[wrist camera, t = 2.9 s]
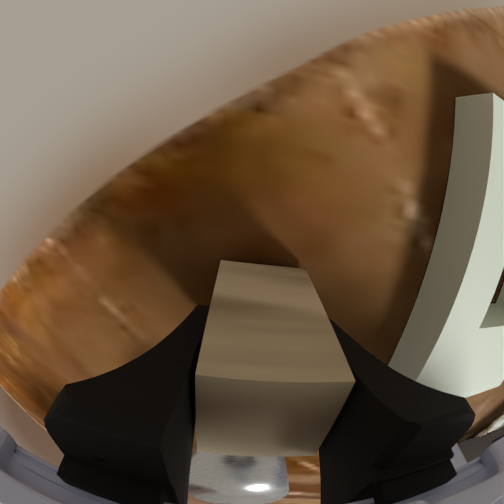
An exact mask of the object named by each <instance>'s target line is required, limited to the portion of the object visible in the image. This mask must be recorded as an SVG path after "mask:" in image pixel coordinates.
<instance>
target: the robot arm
mask: <svg viewBox="0 0 504 504" xmlns="http://www.w3.org/2000/svg"><path fill="white" fill-rule="evenodd" d="M209 309H210V306H205V305H198V306H196V307H195V308H194V310H193V311H192V312H191V313H190V314H189V315H188V316H187V318H186V319H185V320H184V321H183V322H182V323H181V324H180V325H179V326H178V327H177V328H176V329H175V330H174V331H173V332H171V333H170V334H169V335H168V336H167V337H166V338H164V339H163V340H162V341H161V342H160V343H158V344H157V345H156V346H154V347H153V348H152V349H150V350H149V351H147V352H146V353H144V354H143V355H141V356H140V357H138V358H136V359H134V360H132V361H131V362H129V363H127V364H125V365H123V366H121V367H119V368H117V369H114V370H112V371H110V372H107V373H104V374H102V375H99V376H96V377H93V378H90V379H86V380H83V381H79V382H75V383H71V384H67V385H65V386H64V388H63V389H62V390H61V392H60V393H59V394H58V396H57V398H56V399H55V401H54V403H53V404H52V406H51V408H50V409H49V411H48V413H47V415H46V416H45V418H44V423H45V427H46V429H47V431H48V433H49V434H50V436H51V437H52V439H53V440H54V442H55V443H56V444H57V446H58V447H59V448H60V450H61V451H62V452H63V454H64V457H63V460H62V462H61V464H60V466H59V467H57V466H55V465H53V464H51V463H49V462H47V461H45V460H43V459H41V458H39V457H38V456H36V455H34V454H32V453H30V452H28V451H27V450H25V449H23V448H22V447H20V446H18V445H17V444H16V442H15V441H14V439H13V438H12V437H11V436H10V435H9V434H8V433H7V432H6V431H5V430H4V429H3V428H2V427H0V502H1V503H2V504H187V499H188V487H189V476H190V466H191V457H192V448H193V440H194V432H195V424H196V399H195V373H196V368H197V363H198V359H199V354H200V349H201V345H202V340H203V335H204V331H205V326H206V322H207V317H208V313H209ZM329 321H330V323H331V325H332V327H333V330H334V332H335V334H336V337H337V339H338V341H339V343H340V346H341V348H342V350H343V353H344V355H345V357H346V360H347V362H348V364H349V367H350V369H351V372H352V374H353V376H354V379H355V383H354V385H353V387H352V389H351V391H350V393H349V395H348V397H347V399H346V401H345V403H344V405H343V407H342V409H341V411H340V413H339V415H338V416H337V418H336V420H335V422H334V424H333V425H332V427H331V429H330V431H329V432H328V434H327V436H326V437H325V439H324V441H323V442H322V444H321V446H320V447H319V458H320V476H321V504H504V497H503V496H504V437H503V438H501V439H499V440H498V441H496V442H494V443H493V444H492V445H490V446H489V447H488V448H487V449H486V450H485V451H484V452H483V453H482V454H481V455H480V457H478V458H476V459H474V460H472V461H470V462H468V463H467V461H466V459H465V458H464V456H463V454H462V452H461V450H460V448H459V446H458V444H457V442H458V441H459V440H460V439H461V438H462V437H463V435H464V434H465V433H466V432H467V431H468V429H469V428H470V427H471V425H472V423H473V422H474V418H475V413H474V411H473V410H472V408H471V406H470V405H469V403H468V402H467V400H466V399H465V398H464V397H461V396H457V395H453V394H449V393H446V392H442V391H439V390H436V389H434V388H431V387H428V386H426V385H423V384H421V383H419V382H416V381H414V380H412V379H410V378H408V377H406V376H404V375H402V374H401V373H399V372H397V371H395V370H394V369H392V368H390V367H389V366H387V365H386V364H384V363H383V362H381V361H380V360H378V359H377V358H376V357H374V356H373V355H372V354H370V353H369V352H368V351H366V350H365V349H364V348H363V347H361V346H360V345H359V344H358V343H357V342H355V341H354V340H353V339H352V338H351V337H350V336H349V335H348V334H346V333H345V332H344V331H343V330H342V329H341V328H340V327H339V326H338V325H336V324H335V323H334V322H333V321H332V320H331V319H330V318H329Z"/></svg>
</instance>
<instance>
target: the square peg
mask: <svg viewBox="0 0 504 504" xmlns="http://www.w3.org/2000/svg"><path fill="white" fill-rule="evenodd" d="M354 383H355V379H354V376H353V374H352V372H351V369H350V367H349V364H348V362H347V360H346V357H345V355H344V353H343V350H342V348H341V346H340V343H339V341H338V339H337V337H336V334H335V332H334V330H333V327H332V325H331V323H330V321H329V318H328V316H327V314H326V312H325V310H324V307H323V305H322V303H321V301H320V299H319V296H318V294H317V292H316V290H315V288H314V286H313V283H312V281H311V279H310V277H309V275H308V273H307V271H306V269H301V268H291V267H281V266H272V265H262V264H252V263H243V262H234V261H224V260H221V262H220V266H219V270H218V274H217V278H216V283H215V287H214V291H213V295H212V300H211V304H210V309H209V313H208V317H207V322H206V326H205V331H204V335H203V340H202V345H201V349H200V354H199V359H198V363H197V368H196V373H195V399H196V432H197V452H204V453H213V454H223V455H237V456H258V457H290V456H311V455H315V454H316V452H317V451H318V449H319V447H320V446H321V444H322V442H323V441H324V439H325V437H326V436H327V434H328V432H329V431H330V429H331V427H332V425H333V424H334V422H335V420H336V418H337V416H338V415H339V413H340V411H341V409H342V407H343V405H344V403H345V401H346V399H347V397H348V395H349V393H350V391H351V389H352V387H353V385H354Z"/></svg>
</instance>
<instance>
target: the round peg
mask: <svg viewBox="0 0 504 504" xmlns="http://www.w3.org/2000/svg"><path fill="white" fill-rule="evenodd" d="M288 492H289V485H288V476H287V467H286V458H285V457H258V456H237V455H223V454H213V453H204V452H197V432H196V424H195V432H194V440H193V448H192V457H191V466H190V476H189V487H188V493H189V494H191V495H192V496H194V497H196V498H198V499H201V500H203V501H207V502H210V503H215V504H267V503H271V502H274V501H277V500H279V499H281V498H283V497H285V496H286V495H287V494H288Z"/></svg>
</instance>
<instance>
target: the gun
mask: <svg viewBox="0 0 504 504" xmlns="http://www.w3.org/2000/svg"><path fill="white" fill-rule="evenodd" d="M503 437H504V426H503V427H501V428H499V429H497V430H495V431H492V432H489V433H487V434H486V435H484V436H481V437H479V436H478V437H475V438H471V439H468V440H464V441H463V442H461V443H460V444H458V446H459V448H460V450H461V452H462V454H463V456H464V458H465V459H466V461H467V463H468V462H470V461H472V460H474V459H476V458H478V457H480V455H481V454H482V453H483V452H484V451H485V450H486V449H487V448H488V447H489V446H490V445H492V444H493V443H494V442H496V441H498V440H499V439H501V438H503Z"/></svg>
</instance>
